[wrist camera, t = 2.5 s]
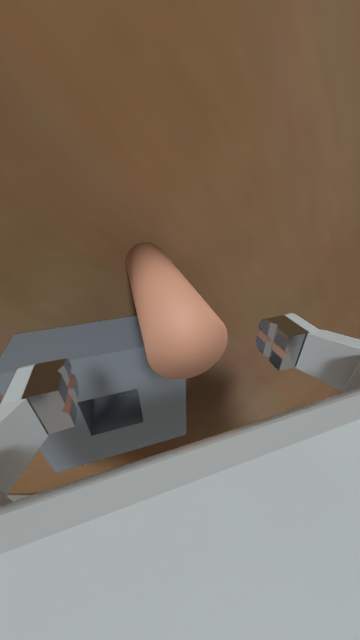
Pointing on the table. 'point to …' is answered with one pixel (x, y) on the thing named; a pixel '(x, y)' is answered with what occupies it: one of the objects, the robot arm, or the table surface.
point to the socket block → (102, 390)
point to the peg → (172, 316)
